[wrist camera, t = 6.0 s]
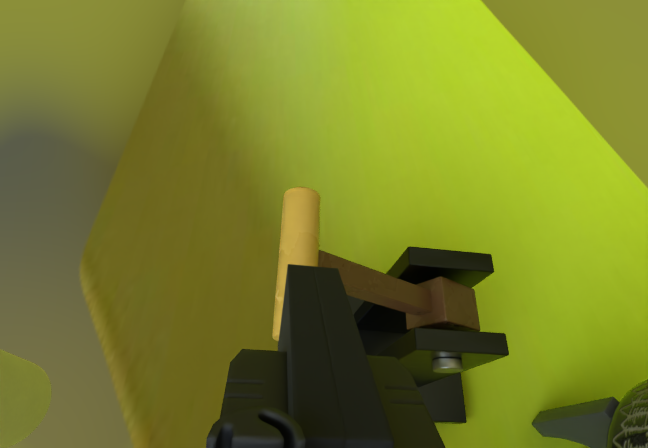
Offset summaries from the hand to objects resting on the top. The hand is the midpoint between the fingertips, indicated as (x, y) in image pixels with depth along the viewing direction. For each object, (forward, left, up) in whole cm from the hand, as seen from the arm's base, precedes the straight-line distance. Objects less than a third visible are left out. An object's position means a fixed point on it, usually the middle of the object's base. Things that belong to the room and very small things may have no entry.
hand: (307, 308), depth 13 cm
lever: (+3, +3, -6) cm, 8 cm away
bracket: (+8, +3, -19) cm, 21 cm away
